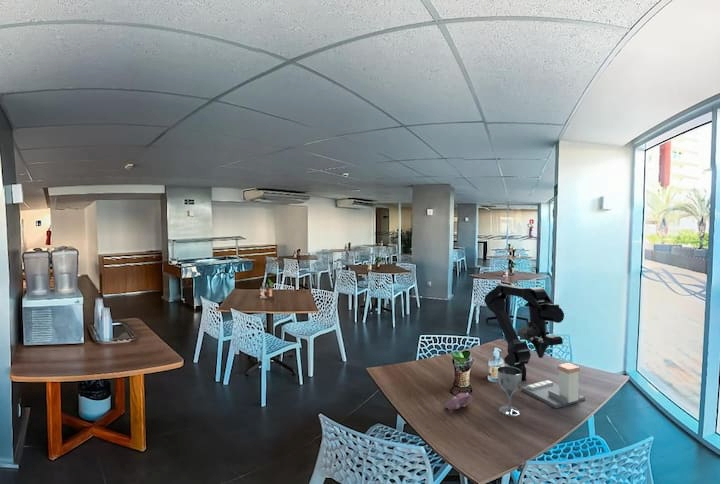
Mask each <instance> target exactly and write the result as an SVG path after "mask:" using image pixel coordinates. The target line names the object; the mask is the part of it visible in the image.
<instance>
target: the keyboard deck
mask: <svg viewBox="0 0 720 484" xmlns="http://www.w3.org/2000/svg"><path fill="white" fill-rule="evenodd" d="M520 389H521V391H522V392H524V393H526V394H528V395H530V396H531V397H534V398H535V399H538V400H540V402H541V401H542V402H544V403H545V404H546V405H549V406H551V407H553V408H555V409H558V408H562V407H563V408H564V407H566V406H570V405H572V404H575V403H576V404H577V403H580V402H584V401H585V400H586V396H585V395H584V396H583V395H582V394H580V393H578V400H577V401H573V402H570V403H568V402H566V397H563V396H561V395H559V383H556V382H553V381H551V380H548V379H547V380H543V381H539V382H535V383H532V384H527V385H525V386H521V388H520Z"/></svg>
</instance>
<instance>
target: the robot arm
mask: <svg viewBox="0 0 720 484" xmlns="http://www.w3.org/2000/svg"><path fill="white" fill-rule="evenodd" d="M508 295H509V296H514V297H519V298H521V299H523V300H524V301H525V302H526V303H525V304H524V307H525V308H528V312H529V313H528V315H529V320H527V323H526V325H525V326H523V327H521V328H519V329H518V330H517V332H516V330H515V328H514V326H513V324H512V322H511V320H510V317H509V316H508V313H507V311H506V299H507V298H508ZM484 304H485V305H486V307H487V308H488V310H489V311H490V312H492V313H493V314H494V317H495V318H496V320H497V323H498V325H499V327H500V329H501V331H502V334H503V335H504V338H505V340H506V342H507V347H506V348H507V350H506V351H507V355H506V356H505V357H503V360H504V364H506V365H507V366H511V367H515V368H518V369H520V370H521V381H527V368H526V365H528V364H529V362H530V359H531V356H532V355H531V349H530V348H529V346H528V344H527V342H526V341H528V342H530V343H531V344H532V346H533V347H534V349H535V351H536V354H537V356H538V358H539V359H543V358H544V356H545V354H546V353H545V352H546V351H547V349H548V348H549V347H548V346H559V345H564V340H563V339H564V338H562V337H561V336H560V335H555V334H550V331H547V325H549V322H551V323H557V324H559V323H560V324H561V323H562V322H563V320H564V318H565V313H564V311H563V309H562V308H561V307H560V304H554V302H553V301H552V299H551V298H550V296H549V295H548V293H547V291H546V290H545V288H543V287H542V286H539V287H538V286H537V287H523V286H518V285H517V286H516V285H512V284H507V283H501V284H500V283H499V284H497V285H496V286H495V288H493V289H492V290H491V291H489V292H488V293H487V294H486V295H485V297H484ZM520 339H522V340H524V341H522V340H520Z"/></svg>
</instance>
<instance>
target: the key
mask: <svg viewBox="0 0 720 484" xmlns="http://www.w3.org/2000/svg"><path fill="white" fill-rule="evenodd" d="M557 370H558V385H559V395H561V396H563V397H566V402H568V403H570V402H573V401H577V400H578V394H579V372H580V366H578V365H575V364H573V363H571V362H565V363H561V364H558V365H557Z"/></svg>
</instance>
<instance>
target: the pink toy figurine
mask: <svg viewBox="0 0 720 484" xmlns="http://www.w3.org/2000/svg"><path fill="white" fill-rule="evenodd" d="M473 399H474V397H473V396H472V395H471V394H470V393H468V391H467V392H460V393H457V395H455V396H453V397H451V398H450V399H449V400H448V401H446V402H445V403H444V408H445V407H446V408H448V409H447V410H452V409H454V410H456V409H458V408H459V409H460V408H462V407H464V408H465V407H467V406H468V405H469V404H470V403H471V402H472V401H473ZM446 408H445V409H446ZM459 409H458V410H459Z"/></svg>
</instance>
